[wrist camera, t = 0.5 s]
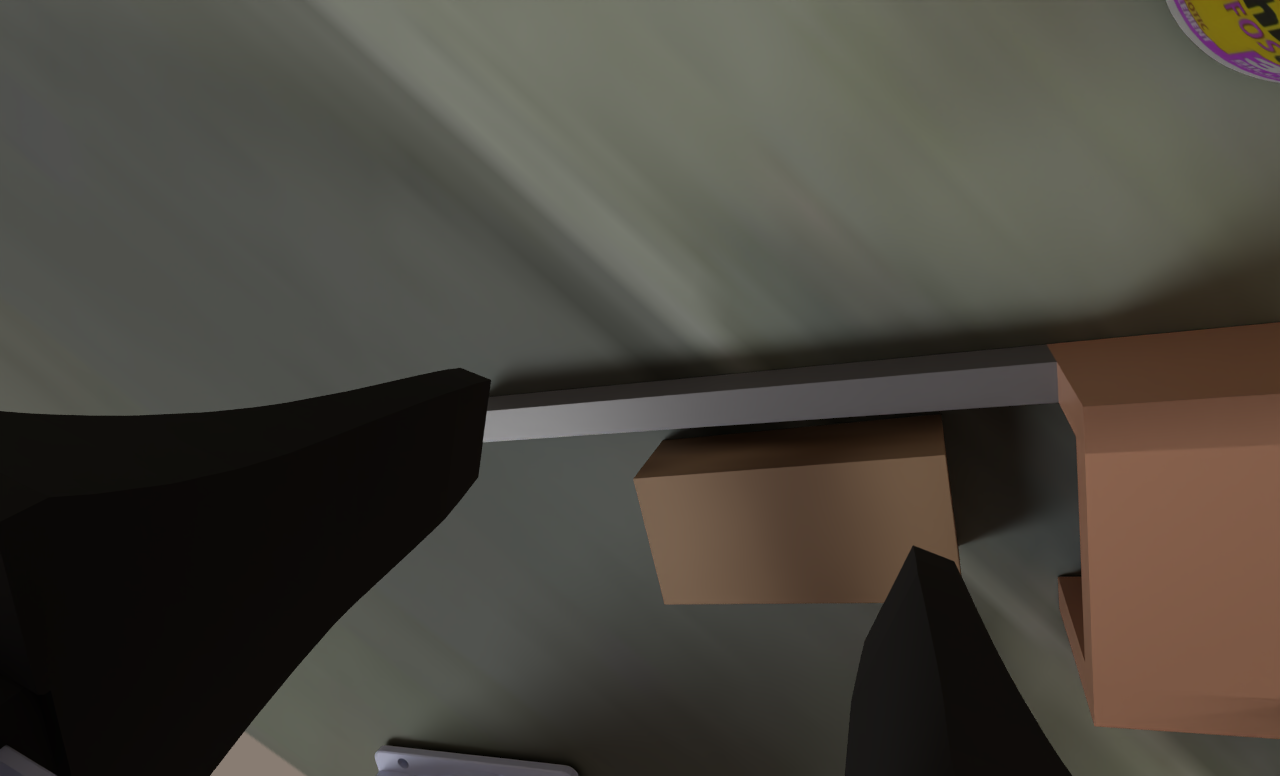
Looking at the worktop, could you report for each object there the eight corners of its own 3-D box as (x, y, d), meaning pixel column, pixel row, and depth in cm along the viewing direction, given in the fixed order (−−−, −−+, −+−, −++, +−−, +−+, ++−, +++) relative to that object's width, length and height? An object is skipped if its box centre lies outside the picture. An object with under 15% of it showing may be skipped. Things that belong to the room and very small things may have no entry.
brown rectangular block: (691, 550, 24) (664, 604, 22) (665, 437, 23) (633, 478, 21) (957, 541, 21) (964, 602, 19) (940, 410, 20) (945, 454, 18)
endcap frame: (535, 598, 27) (469, 682, 23) (481, 397, 25) (398, 452, 21) (1274, 612, 19) (1371, 745, 15) (1286, 321, 17) (1402, 385, 13)
